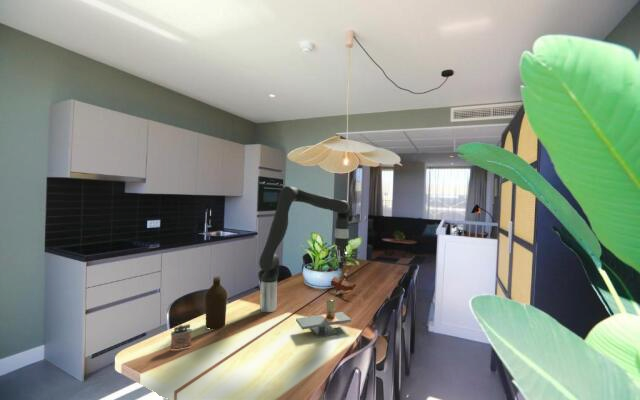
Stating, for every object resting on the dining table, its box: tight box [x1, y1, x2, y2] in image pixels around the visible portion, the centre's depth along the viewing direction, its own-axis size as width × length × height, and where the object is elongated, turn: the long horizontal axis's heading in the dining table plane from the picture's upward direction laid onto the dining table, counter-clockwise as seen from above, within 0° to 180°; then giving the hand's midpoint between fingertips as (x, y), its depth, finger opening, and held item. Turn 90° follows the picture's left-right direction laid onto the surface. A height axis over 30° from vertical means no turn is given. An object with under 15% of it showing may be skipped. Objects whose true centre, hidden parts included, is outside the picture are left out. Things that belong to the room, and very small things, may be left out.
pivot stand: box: [310, 325, 338, 339], centre depth 143 cm, size 10×12×5 cm
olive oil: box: [204, 275, 228, 330], centre depth 146 cm, size 11×11×25 cm
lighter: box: [170, 324, 193, 350], centre depth 124 cm, size 8×3×10 cm, turn 117°
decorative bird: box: [330, 267, 357, 296], centre depth 202 cm, size 28×18×15 cm, turn 35°
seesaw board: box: [295, 311, 352, 331], centre depth 143 cm, size 26×10×1 cm, turn 113°
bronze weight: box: [325, 297, 336, 319], centre depth 145 cm, size 4×4×9 cm
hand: (340, 268), depth 156 cm, fingers closed
